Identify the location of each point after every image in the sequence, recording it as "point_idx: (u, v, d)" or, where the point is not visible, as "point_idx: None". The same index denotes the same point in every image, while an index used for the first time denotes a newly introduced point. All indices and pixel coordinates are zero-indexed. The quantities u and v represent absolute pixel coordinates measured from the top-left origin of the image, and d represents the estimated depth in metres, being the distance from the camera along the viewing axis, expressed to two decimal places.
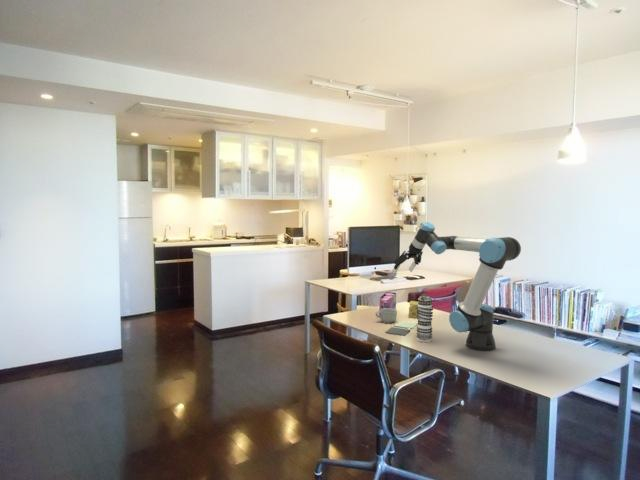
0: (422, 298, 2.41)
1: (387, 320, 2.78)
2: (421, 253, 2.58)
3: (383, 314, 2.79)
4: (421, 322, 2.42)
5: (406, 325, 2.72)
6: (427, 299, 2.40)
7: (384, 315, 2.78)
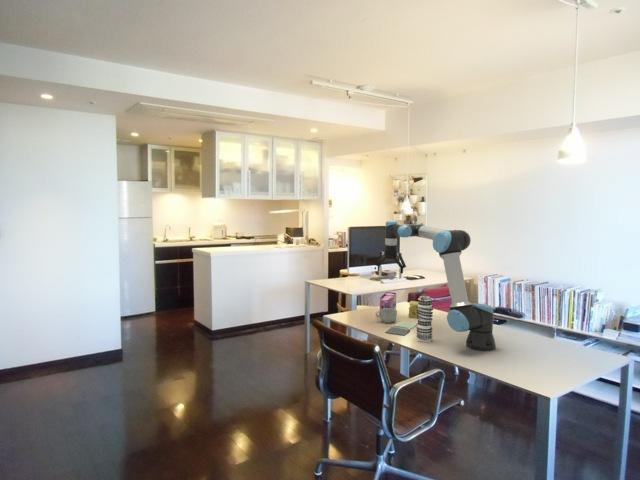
0: (422, 298, 2.41)
1: (387, 320, 2.78)
2: (399, 254, 2.73)
3: (383, 314, 2.79)
4: (421, 322, 2.42)
5: (406, 325, 2.72)
6: (427, 299, 2.40)
7: (384, 315, 2.78)
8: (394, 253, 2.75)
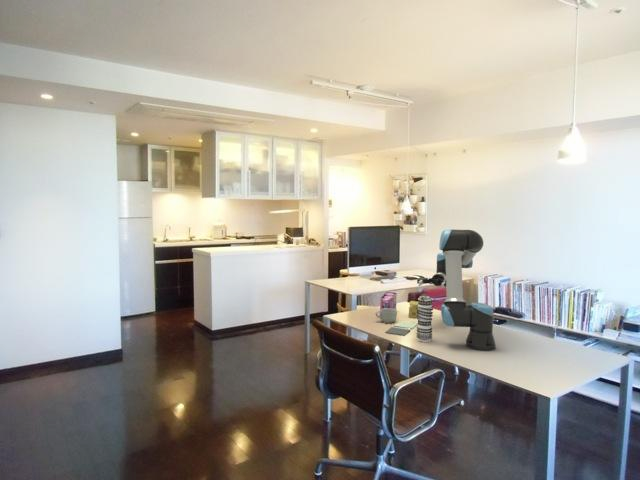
0: (422, 298, 2.41)
1: (387, 320, 2.78)
2: None
3: (383, 314, 2.79)
4: (421, 322, 2.42)
5: (406, 325, 2.72)
6: (427, 299, 2.40)
7: (384, 315, 2.78)
8: (441, 279, 2.66)
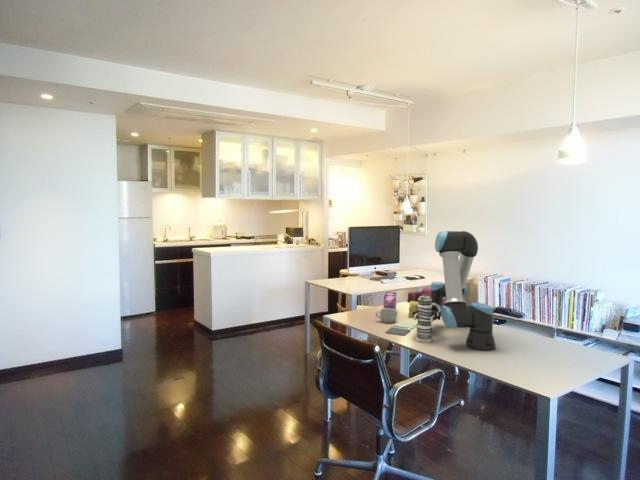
0: (422, 298, 2.41)
1: (387, 320, 2.78)
2: (440, 312, 2.52)
3: (383, 314, 2.79)
4: (421, 322, 2.42)
5: (406, 325, 2.72)
6: (427, 299, 2.40)
7: (384, 315, 2.78)
8: (435, 311, 2.54)
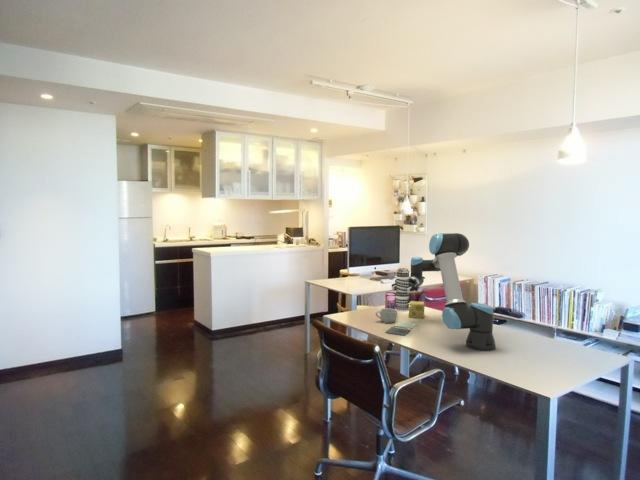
0: (400, 270, 2.54)
1: (387, 320, 2.78)
2: (417, 284, 2.64)
3: (383, 314, 2.79)
4: (399, 293, 2.55)
5: (406, 325, 2.72)
6: (404, 271, 2.53)
7: (384, 315, 2.78)
8: (413, 283, 2.66)
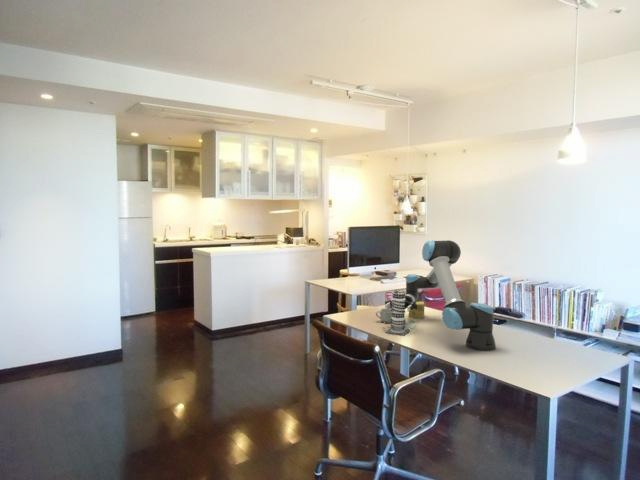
0: (396, 292, 2.56)
1: (387, 320, 2.78)
2: (414, 302, 2.67)
3: (383, 314, 2.79)
4: (394, 314, 2.57)
5: (406, 325, 2.72)
6: (400, 293, 2.55)
7: (384, 315, 2.78)
8: (409, 301, 2.69)
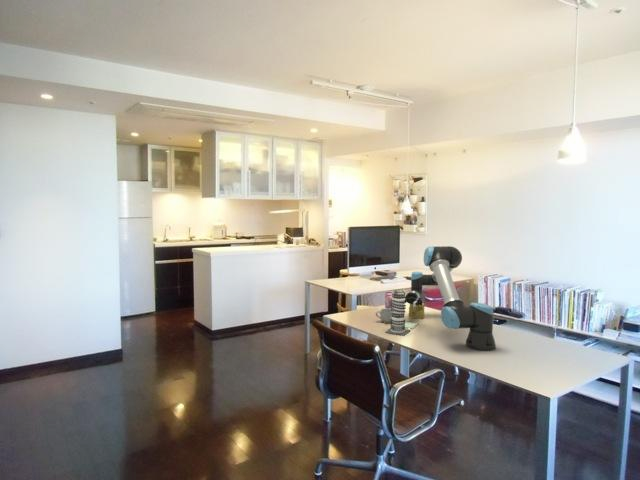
0: (395, 292, 2.56)
1: (387, 320, 2.78)
2: (419, 298, 2.78)
3: (383, 314, 2.79)
4: (394, 314, 2.57)
5: (406, 325, 2.72)
6: (400, 292, 2.55)
7: (384, 315, 2.78)
8: (414, 297, 2.80)
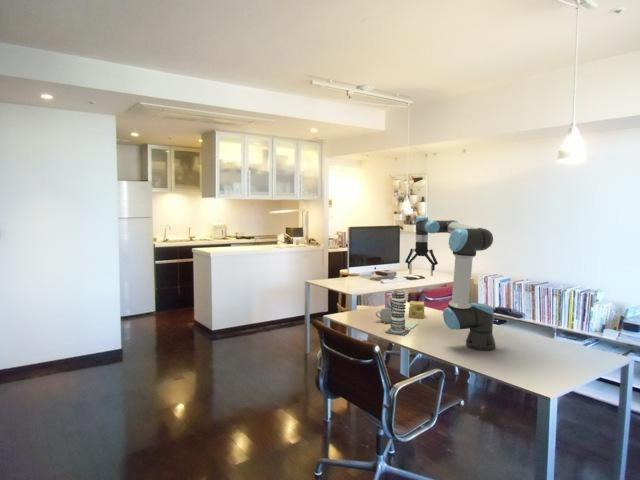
0: (395, 292, 2.56)
1: (387, 320, 2.78)
2: (430, 251, 2.66)
3: (383, 314, 2.79)
4: (394, 314, 2.57)
5: (406, 325, 2.72)
6: (400, 293, 2.55)
7: (384, 315, 2.78)
8: (425, 250, 2.68)
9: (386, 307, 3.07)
